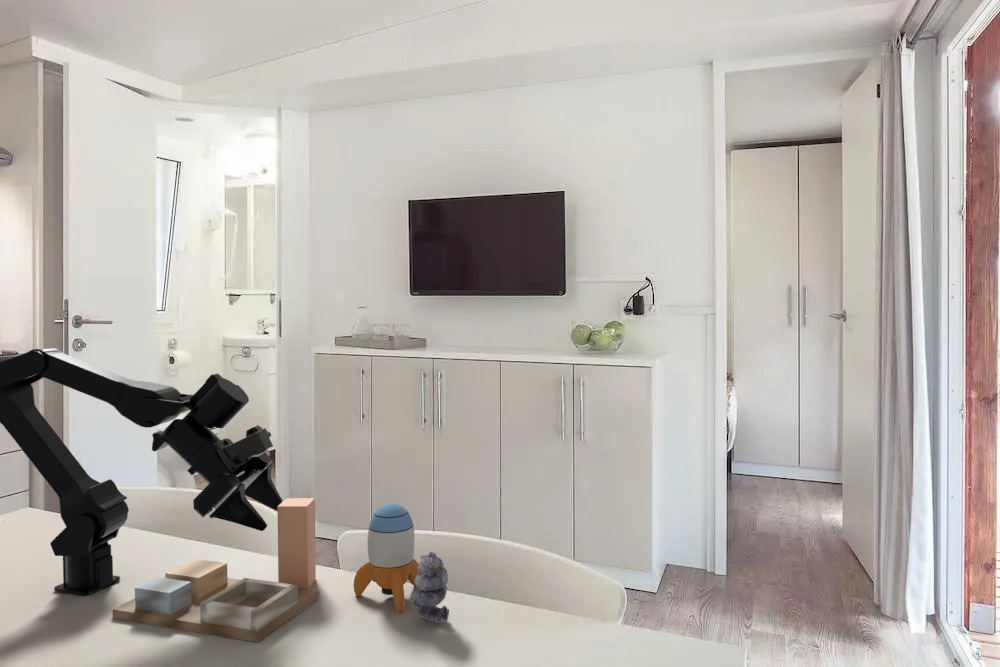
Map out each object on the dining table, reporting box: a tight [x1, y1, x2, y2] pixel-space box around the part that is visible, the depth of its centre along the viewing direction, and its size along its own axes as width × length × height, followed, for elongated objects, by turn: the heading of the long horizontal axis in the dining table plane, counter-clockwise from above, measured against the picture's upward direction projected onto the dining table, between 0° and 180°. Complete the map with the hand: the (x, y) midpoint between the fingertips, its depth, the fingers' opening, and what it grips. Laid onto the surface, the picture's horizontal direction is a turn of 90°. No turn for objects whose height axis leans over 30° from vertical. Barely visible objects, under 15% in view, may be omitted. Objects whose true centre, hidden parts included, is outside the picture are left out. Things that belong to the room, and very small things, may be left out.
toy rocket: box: [353, 502, 419, 614], centre depth 100 cm, size 10×11×15 cm
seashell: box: [411, 551, 450, 624], centre depth 92 cm, size 5×5×10 cm
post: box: [277, 497, 317, 589], centre depth 105 cm, size 4×4×13 cm
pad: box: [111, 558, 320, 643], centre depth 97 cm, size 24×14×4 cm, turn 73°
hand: (275, 519), depth 105 cm, fingers open, 9 cm apart
